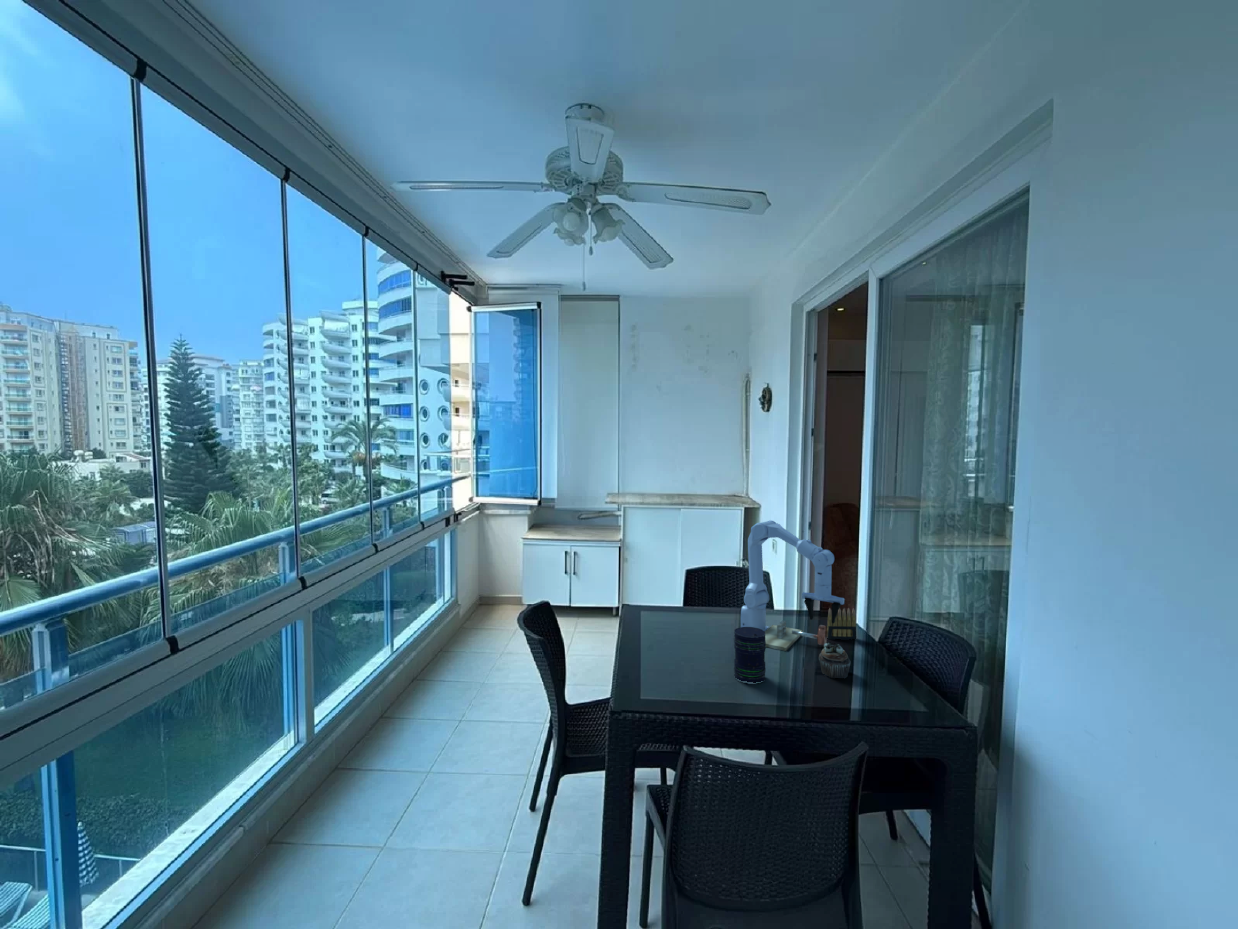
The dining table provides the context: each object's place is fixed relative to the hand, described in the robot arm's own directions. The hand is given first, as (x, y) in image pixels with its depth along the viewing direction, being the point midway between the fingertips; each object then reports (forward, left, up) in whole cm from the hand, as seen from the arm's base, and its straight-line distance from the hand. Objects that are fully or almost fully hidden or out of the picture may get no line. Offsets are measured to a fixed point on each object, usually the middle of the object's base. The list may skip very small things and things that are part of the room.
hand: (822, 620), depth 204 cm
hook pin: (-5, 0, -9) cm, 10 cm away
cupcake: (+9, -22, -10) cm, 26 cm away
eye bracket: (-15, 0, -10) cm, 18 cm away
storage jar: (-13, -40, -10) cm, 43 cm away
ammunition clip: (+4, +13, -10) cm, 17 cm away
